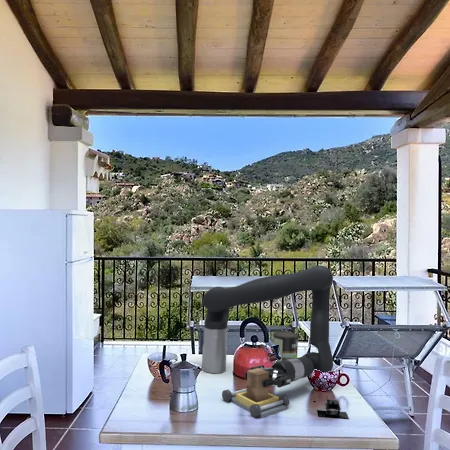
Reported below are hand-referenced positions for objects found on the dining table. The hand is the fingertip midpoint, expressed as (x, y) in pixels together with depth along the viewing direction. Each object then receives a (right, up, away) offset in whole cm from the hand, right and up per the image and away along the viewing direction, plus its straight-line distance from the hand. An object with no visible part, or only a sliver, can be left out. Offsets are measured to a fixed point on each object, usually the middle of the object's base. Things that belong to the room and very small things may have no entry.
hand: (253, 380), depth 142 cm
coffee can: (+15, -9, +39) cm, 43 cm away
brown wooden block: (+1, -8, +1) cm, 8 cm away
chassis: (0, -9, +2) cm, 9 cm away
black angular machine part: (+24, -10, -4) cm, 27 cm away
